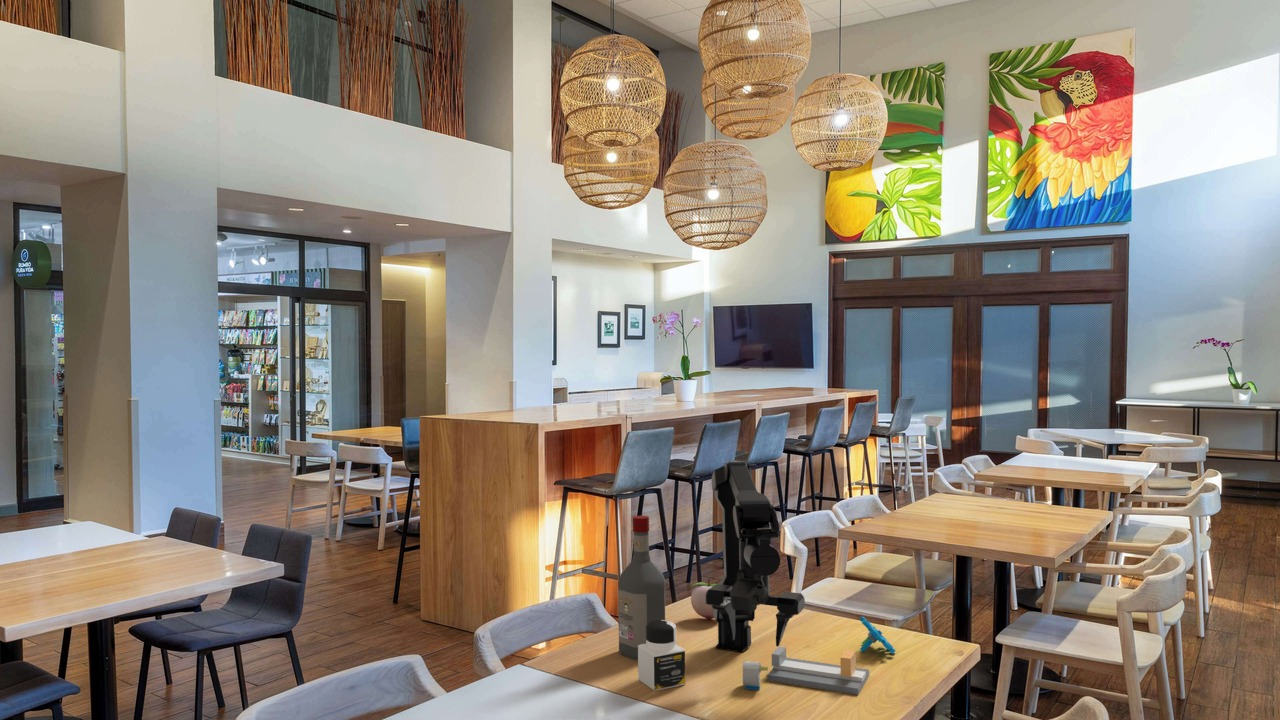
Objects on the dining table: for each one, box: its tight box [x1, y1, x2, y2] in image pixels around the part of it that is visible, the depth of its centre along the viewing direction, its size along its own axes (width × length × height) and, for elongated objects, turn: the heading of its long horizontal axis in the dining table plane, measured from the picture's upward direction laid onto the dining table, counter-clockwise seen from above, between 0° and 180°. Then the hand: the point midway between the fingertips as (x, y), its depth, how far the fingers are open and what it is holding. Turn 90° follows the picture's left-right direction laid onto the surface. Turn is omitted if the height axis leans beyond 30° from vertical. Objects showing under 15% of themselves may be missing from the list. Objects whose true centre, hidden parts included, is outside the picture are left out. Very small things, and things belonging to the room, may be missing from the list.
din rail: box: [766, 645, 870, 696], centre depth 169 cm, size 18×11×4 cm, turn 64°
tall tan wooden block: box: [839, 649, 857, 677], centre depth 167 cm, size 2×5×4 cm, turn 154°
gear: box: [859, 616, 897, 654], centre depth 185 cm, size 11×6×10 cm
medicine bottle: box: [637, 619, 686, 692], centre depth 168 cm, size 7×7×12 cm
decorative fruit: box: [690, 579, 720, 620], centre depth 208 cm, size 9×8×10 cm
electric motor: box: [742, 660, 769, 691], centre depth 165 cm, size 7×5×5 cm
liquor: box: [617, 515, 666, 661], centre depth 185 cm, size 9×9×30 cm
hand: (755, 642), depth 165 cm, fingers open, 9 cm apart
